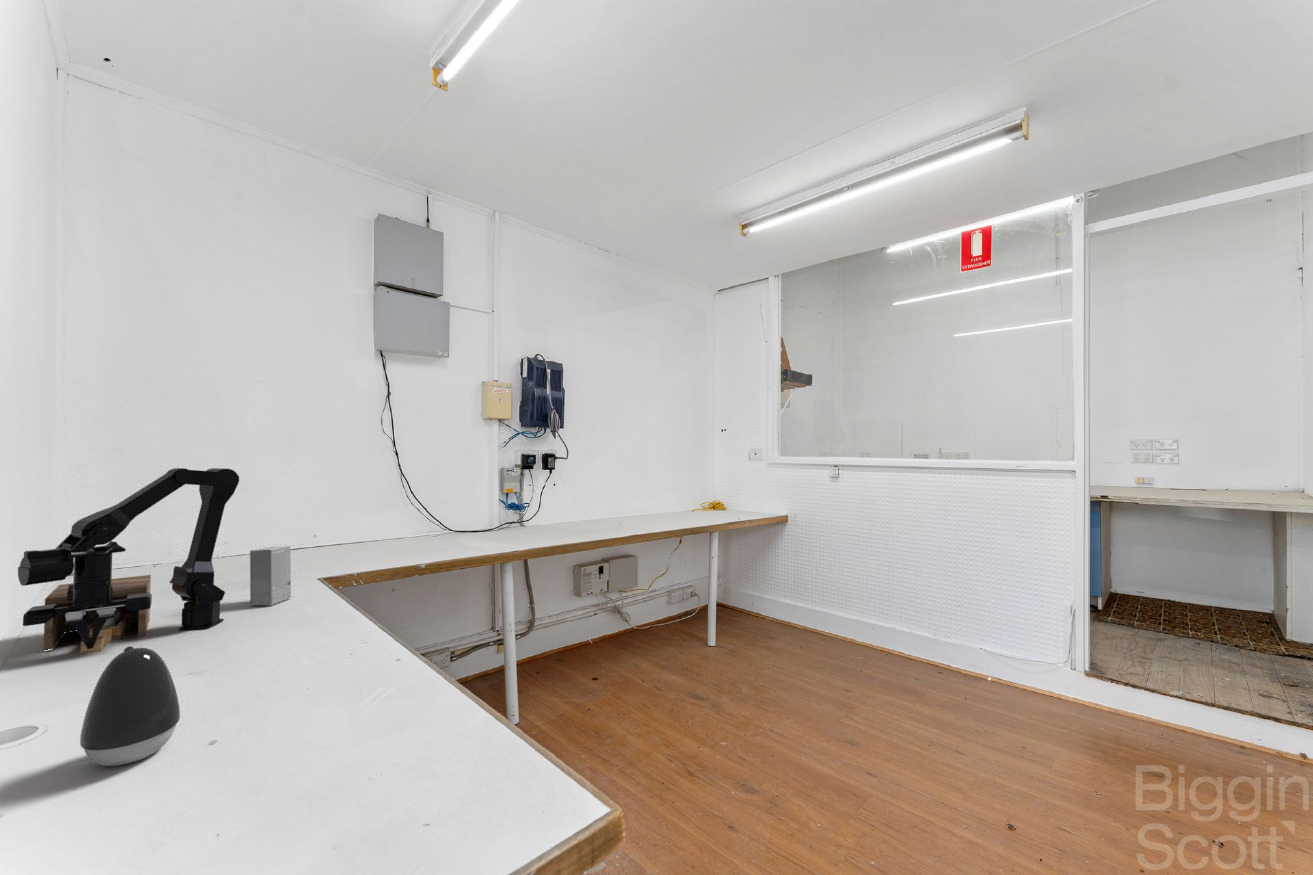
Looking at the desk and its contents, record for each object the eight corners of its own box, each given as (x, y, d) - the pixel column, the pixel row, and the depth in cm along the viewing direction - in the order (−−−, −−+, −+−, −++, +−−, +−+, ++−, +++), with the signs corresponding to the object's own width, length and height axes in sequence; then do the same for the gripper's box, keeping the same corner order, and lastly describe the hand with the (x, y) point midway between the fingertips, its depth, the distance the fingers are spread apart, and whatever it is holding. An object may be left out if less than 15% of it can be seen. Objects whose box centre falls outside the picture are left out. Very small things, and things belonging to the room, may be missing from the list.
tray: (110, 649, 118) (111, 628, 118) (71, 654, 114) (71, 633, 115) (132, 624, 134) (132, 606, 134) (98, 629, 131) (99, 610, 131)
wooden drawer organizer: (145, 635, 126) (146, 586, 127) (43, 652, 116) (45, 598, 116) (149, 619, 139) (150, 574, 139) (57, 633, 128) (59, 584, 128)
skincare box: (271, 606, 150) (272, 550, 150) (246, 606, 150) (247, 550, 150) (292, 598, 158) (293, 544, 159) (269, 598, 159) (270, 544, 159)
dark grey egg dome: (171, 729, 84) (173, 631, 84) (185, 752, 77) (188, 647, 78) (76, 758, 76) (79, 650, 76) (82, 787, 69) (85, 669, 70)
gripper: (154, 564, 128) (151, 630, 127) (36, 575, 116) (33, 648, 115) (151, 571, 120) (149, 642, 119) (23, 585, 107) (20, 663, 107)
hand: (90, 648), depth 115 cm, fingers closed
